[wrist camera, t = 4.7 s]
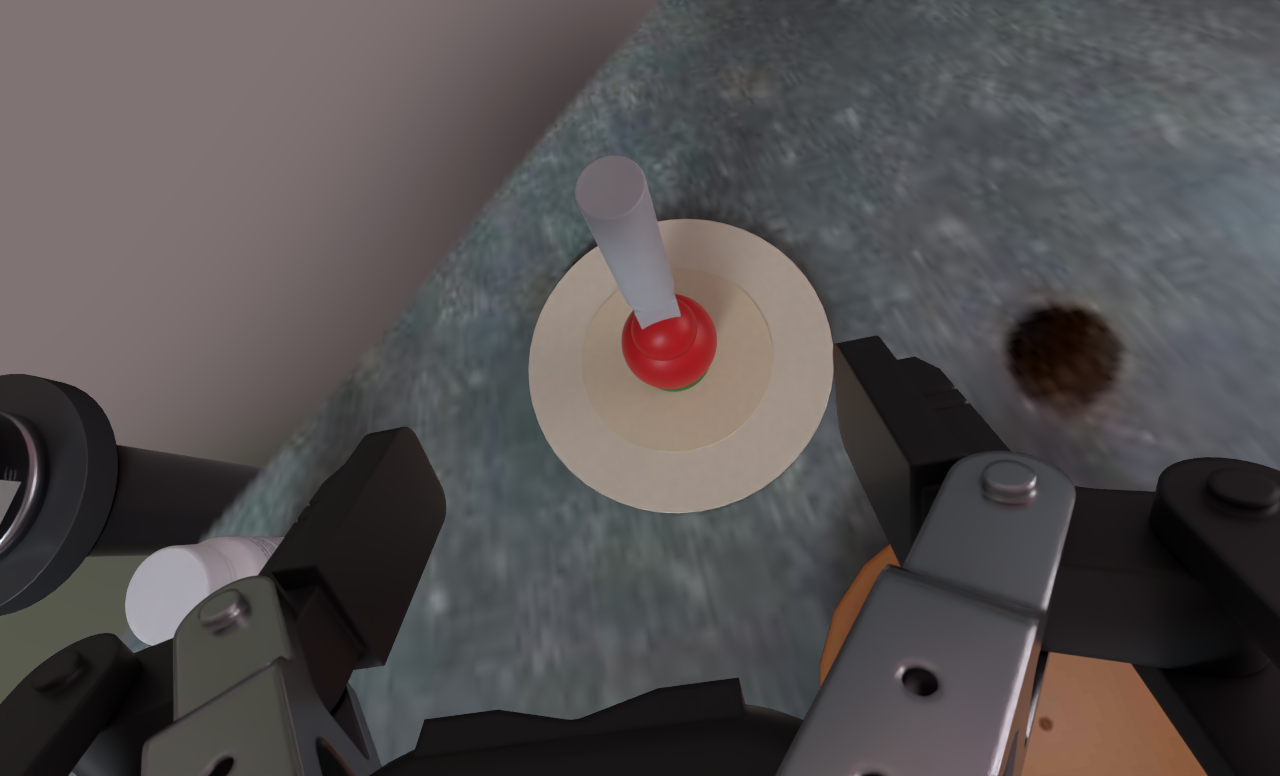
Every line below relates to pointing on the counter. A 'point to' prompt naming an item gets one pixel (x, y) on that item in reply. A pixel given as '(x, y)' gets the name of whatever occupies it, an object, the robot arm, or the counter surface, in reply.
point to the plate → (704, 414)
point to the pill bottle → (188, 580)
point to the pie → (1067, 708)
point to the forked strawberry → (644, 278)
